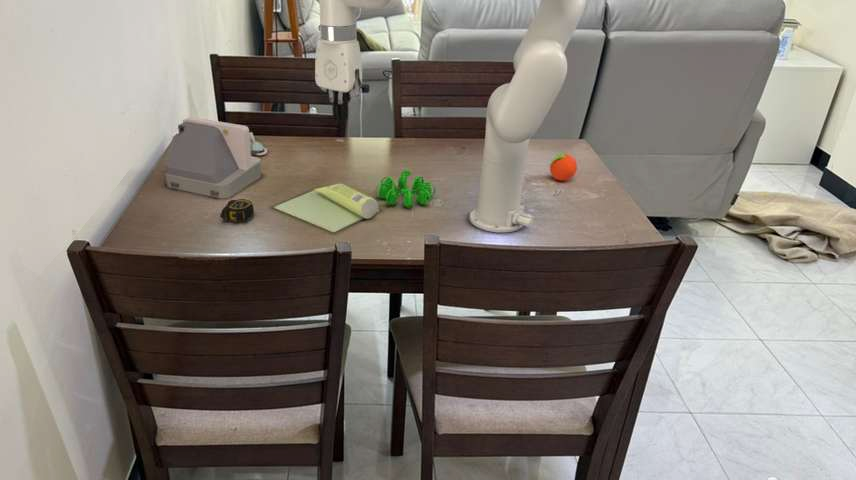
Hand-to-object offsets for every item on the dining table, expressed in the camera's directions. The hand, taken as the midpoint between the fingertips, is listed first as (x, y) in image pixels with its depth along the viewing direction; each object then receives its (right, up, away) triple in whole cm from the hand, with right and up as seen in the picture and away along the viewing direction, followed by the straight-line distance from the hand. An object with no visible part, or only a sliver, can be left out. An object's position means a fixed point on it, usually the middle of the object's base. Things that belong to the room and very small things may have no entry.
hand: (340, 120), depth 148 cm
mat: (-4, -18, +14) cm, 23 cm away
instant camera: (-34, -9, +29) cm, 45 cm away
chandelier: (+16, -15, +20) cm, 30 cm away
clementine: (+58, -9, +32) cm, 67 cm away
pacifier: (-25, +2, +47) cm, 54 cm away
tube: (+7, -19, +7) cm, 21 cm away
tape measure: (-25, -21, +9) cm, 34 cm away
